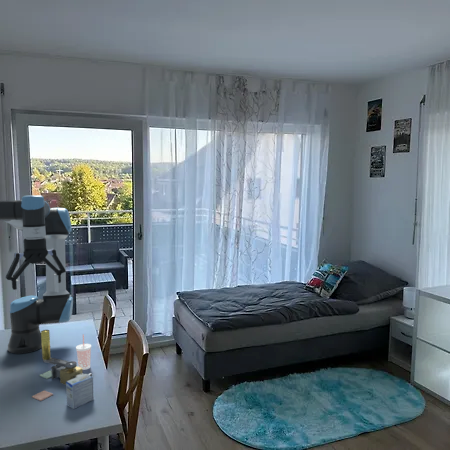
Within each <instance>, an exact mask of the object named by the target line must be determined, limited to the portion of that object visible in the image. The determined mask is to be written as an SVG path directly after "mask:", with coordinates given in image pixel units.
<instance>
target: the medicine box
mask: <svg viewBox="0 0 450 450" xmlns="http://www.w3.org/2000/svg"><path fill="white" fill-rule="evenodd" d="M83 374H84V375H81V376H78V377H76V378H74V379H71V380H69V381H67V382H66V385H65V391H66V405H67V406H68V407H70V408H71V409H72V410H73V409H77V408H79V407H81V406H83V405H85V404H88V403H89V402H92V401H94V400H95V399H94V397H95V396H94V377H93V376H92V377H91V376H90V375H88V374H89V373H83Z"/></svg>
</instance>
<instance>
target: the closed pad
mask: <svg viewBox="0 0 450 450" xmlns="http://www.w3.org/2000/svg"><path fill="white" fill-rule="evenodd" d="M51 396H54V393H52V392H49V391H48V390H45V389H44V390H42V391H40V392H38V393H36V394H33V395H32V396H31V398H32V399H35V400H37V401H39V402H42V401H43V400H46V399H48V398H50V397H51Z"/></svg>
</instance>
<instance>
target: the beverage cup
mask: <svg viewBox="0 0 450 450" xmlns="http://www.w3.org/2000/svg"><path fill="white" fill-rule="evenodd" d="M91 349H92V344H91V343H85V334H82V343H80V344H77V345H76V346H75V350H76V355H77V356H76V357H77V364H78V365H77V367H80V368H82V369H83V371H84V370H85V371H86V370H89V369H90V368H91V356H92V355H91V353H92V352H91V351H92V350H91Z"/></svg>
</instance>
